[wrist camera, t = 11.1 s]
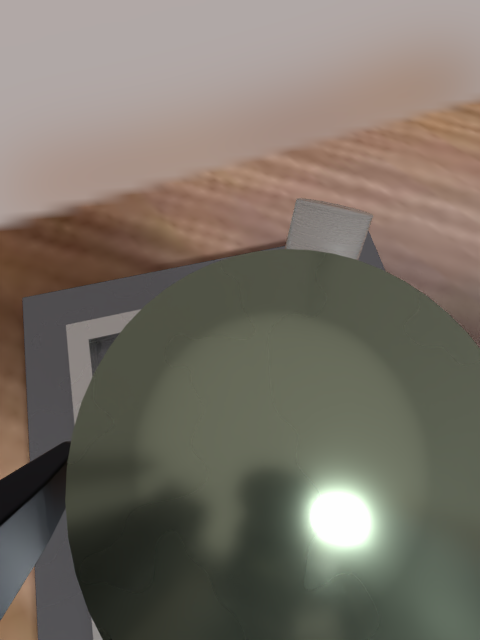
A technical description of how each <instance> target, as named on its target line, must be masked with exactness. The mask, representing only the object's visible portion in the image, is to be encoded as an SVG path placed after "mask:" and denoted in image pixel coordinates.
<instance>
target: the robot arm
mask: <svg viewBox="0 0 480 640" xmlns="http://www.w3.org/2000/svg"><path fill="white" fill-rule="evenodd" d="M70 445H71V441H65V442H62V443H61V444H59V445H57V446H56V447H54V448H52V449H51V450H49V451H47V452H46V453H44V454H42V455H41V456H39V457H37V458H36V459H34V460H33V461H31V462H29V463H28V464H26V465H24V466H23V467H21V468H19V469H18V470H16V471H14V472H13V473H11V474H9V475H8V476H6V477H4V478H3V479H1V480H0V620H1V619H2V617H3V615H4V614H5V612H6V611H7V609H8V607H9V606H10V604H11V603H12V601H13V599H14V598H15V596H16V594H17V593H18V591H19V590H20V588H21V586H22V585H23V583H24V581H25V580H26V578H27V577H28V575H29V573H30V572H31V570H32V569H33V567H34V565H35V564H36V562H37V560H38V559H39V557H40V556H41V554H42V552H43V551H44V549H45V547H46V546H47V544H48V542H49V540H50V538H51V537H52V535H53V533H54V531H55V529H56V527H57V525H58V523H59V521H60V519H61V517H62V515H63V513H64V511H65V509H66V504H65V496H66V474H67V462H68V456H69V451H70Z"/></svg>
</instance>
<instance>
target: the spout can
mask: <svg viewBox="0 0 480 640" xmlns="http://www.w3.org/2000/svg"><path fill="white" fill-rule="evenodd" d="M372 218H373V215H372V214H370V213H367V212H364V211H361V210H358V209H354V208H350V207H346V206H342V205H338V204H333V203H328V202H323V201H317V200H311V199H301V198H299V199H297V200H296V204H295V208H294V212H293V216H292V220H291V225H290V229H289V233H288V237H287V241H286V246H285V249H279V250H266V251H257V252H252V253H247V254H242V255H237V256H233V257H230V258H227V259H224V260H221V261H218V262H215V263H212V264H210V265H208V266H206V267H203V268H201V269H199V270H197V271H195V272H193V273H191V274H188V275H187V276H185V277H184V278H182V279H180V280H179V281H177V282H176V283H174V284H172V285H171V286H169V287H168V288H166V289H165V290H164V291H162V292H161V293H160V294H159V295H157V296H156V297H155V298H154V299H152V300H151V301H150V302H149V303H147V304H146V305H145V306H144V307H143V308H142V309H141V310H140V311H139V312H138V313H137V314H136V315H135V316H134V317H133V318H132V320H131V321H130V322H129V323H128V324H127V325H126V326H125V327H124V329H123V330H122V331H121V333H120V334H119V335H118V336H117V338H116V339H115V340H114V342H113V343H112V344H111V346H110V347H109V349H108V350H107V352H106V354H105V355H104V357H103V359H102V360H101V362H100V364H99V366H98V367H97V369H96V371H95V372H94V374H93V377H92V379H91V381H90V384H89V386H88V388H87V391H86V393H85V395H84V398H83V400H82V402H81V406H80V409H79V413H78V416H77V419H76V423H75V426H74V429H73V433H72V439H71V445H70V451H69V456H68V462H67V474H66V496H65V504H66V517H67V530H68V539H69V544H70V549H71V554H72V559H73V564H74V569H75V573H76V577H77V580H78V583H79V585H80V588H81V591H82V594H83V597H84V600H85V603H86V606H87V609H88V611H89V613H90V615H91V617H92V619H93V621H94V623H95V625H96V627H97V629H98V631H99V633H100V635H101V637H102V639H103V640H480V348H479V347H478V346H477V345H476V343H475V342H474V341H473V339H472V338H471V337H470V336H469V334H468V333H467V332H466V331H465V330H464V329H463V328H462V327H461V326H460V325H459V324H458V323H457V322H456V321H455V320H454V319H453V318H452V317H451V316H450V315H449V314H448V313H447V312H446V311H444V310H443V309H442V308H441V307H440V306H438V305H437V304H436V303H435V302H434V301H432V300H431V299H430V298H429V297H427V296H426V295H425V294H423V293H422V292H420V291H419V290H417V289H415V288H414V287H412V286H411V285H409V284H408V283H406V282H405V281H403V280H401V279H399V278H397V277H395V276H393V275H391V274H390V273H388V272H386V271H384V270H382V269H379V268H377V267H374V266H372V265H369V264H367V263H364V262H361V261H359V260H358V259H359V256H360V253H361V250H362V247H363V245H364V242H365V239H366V236H367V233H368V230H369V227H370V224H371V221H372Z"/></svg>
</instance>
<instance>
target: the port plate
mask: <svg viewBox="0 0 480 640" xmlns="http://www.w3.org/2000/svg"><path fill="white" fill-rule="evenodd" d="M279 249H285V246H282V247H277V248H272V249H267V250H279ZM262 251H266V250H262ZM232 257H233V256H232ZM227 258H230V257H227ZM227 258H221V259H216V260H211V261H206V262H201V263H196V264H191V265H186V266H181V267H176V268H171V269H166V270H161V271H156V272H151V273H146V274H141V275H136V276H131V277H125V278H120V279H115V280H110V281H105V282H100V283H95V284H90V285H85V286H80V287H75V288H70V289H65V290H60V291H55V292H50V293H45V294H40V295H35V296H29V297H24V298H22V299H23V320H24V342H25V364H26V386H27V408H28V429H29V451H30V462H31V461H33V460H34V459H36V458H37V457H39V456H41V455H42V454H44V453H46V452H47V451H49V450H51V449H52V448H54V447H56V446H57V445H59V444H61V443H62V442H65V441H71V439H72V433H73V429H74V426H75V423H76V419H77V416H78V413H79V409H80V406H81V402H82V400H83V398H84V395H85V393H86V391H87V388H88V386H89V384H90V381H91V379H92V377H93V374H94V372H95V371H96V369H97V367H98V366H99V364H100V362H101V360H102V359H103V357H104V355H105V354H106V352H107V350H108V349H109V347H110V346H111V344H112V343H113V342H114V340H115V339H116V338H117V336H118V335H119V334H120V333H121V331H122V330H123V329H124V327H125V326H126V325H127V324H128V323H129V322H130V321H131V320H132V318H133V317H134V316H135V315H136V314H137V313H138V312H139V311H140V310H141V309H142V308H143V307H144V306H145V305H146V304H147V303H149V302H150V301H151V300H152V299H154V298H155V297H156V296H157V295H159V294H160V293H161V292H162V291H164V290H165V289H166V288H168V287H169V286H171V285H172V284H174V283H176V282H177V281H179V280H180V279H182V278H184V277H185V276H187V275H188V274H191V273H193V272H195V271H197V270H199V269H201V268H203V267H206V266H208V265H210V264H212V263H215V262H218V261H221V260H224V259H227ZM358 260H359V261H361V262H364V263H367V264H369V265H372V266H374V267H377V268H379V269H382V270H384V271H385V269H384V266H383V264H382V262H381V259H380V257H379V255H378V252H377V250H376V248H375V245H374V243H373V241H372V238H371V236H370V233H369V231H368V233H367V236H366V239H365V242H364V245H363V247H362V250H361V253H360V256H359V259H358ZM35 582H36V604H37V626H38V640H103V639H102V637H101V635H100V633H99V631H98V629H97V627H96V625H95V623H94V621H93V619H92V617H91V615H90V613H89V611H88V609H87V606H86V603H85V600H84V597H83V594H82V591H81V588H80V585H79V583H78V580H77V577H76V573H75V569H74V564H73V559H72V554H71V549H70V544H69V539H68V530H67V517H66V509H65V511H64V513H63V515H62V517H61V519H60V521H59V523H58V525H57V527H56V529H55V531H54V533H53V535H52V537H51V538H50V540H49V542H48V544H47V546H46V547H45V549H44V551H43V552H42V554H41V556H40V557H39V559H38V560H37V562H36V564H35Z"/></svg>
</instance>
